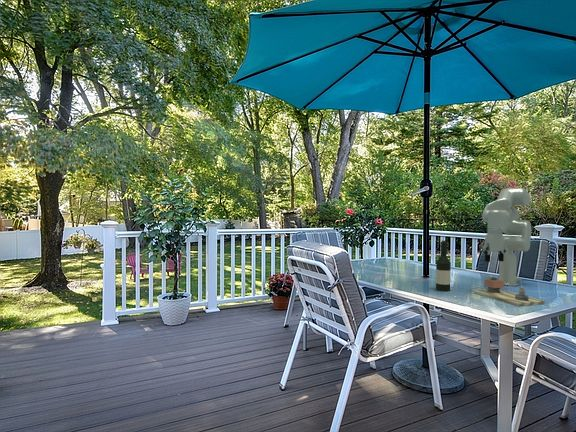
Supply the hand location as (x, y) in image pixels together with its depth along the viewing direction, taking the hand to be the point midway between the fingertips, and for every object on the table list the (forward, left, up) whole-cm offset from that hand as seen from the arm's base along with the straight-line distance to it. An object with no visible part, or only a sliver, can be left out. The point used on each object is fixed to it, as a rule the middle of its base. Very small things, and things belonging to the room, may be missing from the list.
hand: (494, 261), depth 212 cm
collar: (0, 0, -15) cm, 15 cm away
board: (0, +9, -19) cm, 21 cm away
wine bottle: (+21, -17, -19) cm, 33 cm away
